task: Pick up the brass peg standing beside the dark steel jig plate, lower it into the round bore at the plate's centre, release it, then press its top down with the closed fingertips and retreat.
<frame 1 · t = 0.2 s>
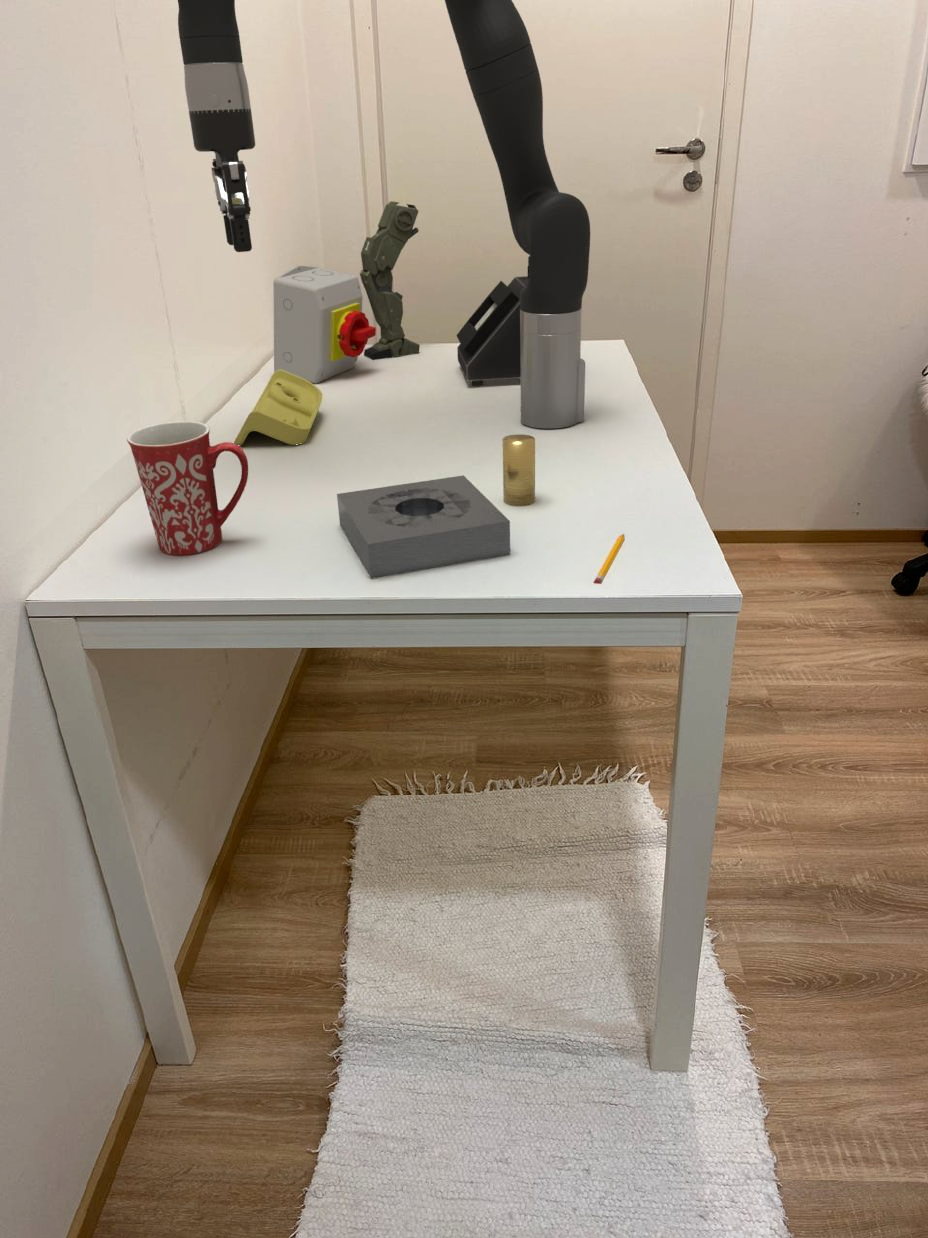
hand: (239, 247, 123), 29 cm above the table, tool pointing down, fingers open, 8 cm apart
mechanical leg: (395, 354, 195), on the table
plastic component: (285, 431, 150), on the table
jig: (421, 538, 109), on the table
electrical switch box: (331, 375, 180), on the table
brass peg: (519, 500, 119), on the table
mug: (205, 544, 110), on the table
pencil: (611, 561, 103), on the table
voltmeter: (504, 376, 176), on the table
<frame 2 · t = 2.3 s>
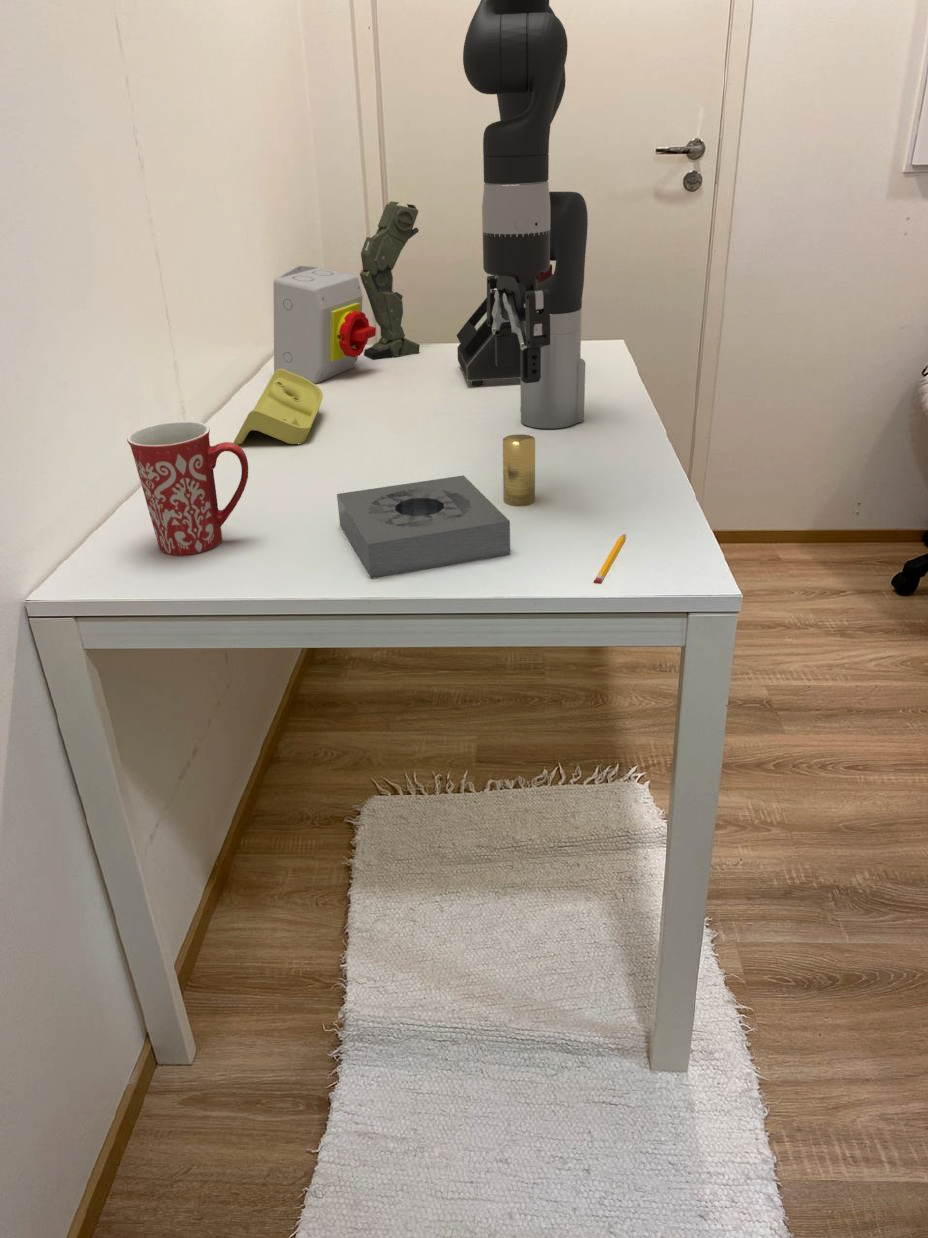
hand: (517, 373, 111), 16 cm above the table, tool pointing down, fingers open, 8 cm apart
nothing on the table moved.
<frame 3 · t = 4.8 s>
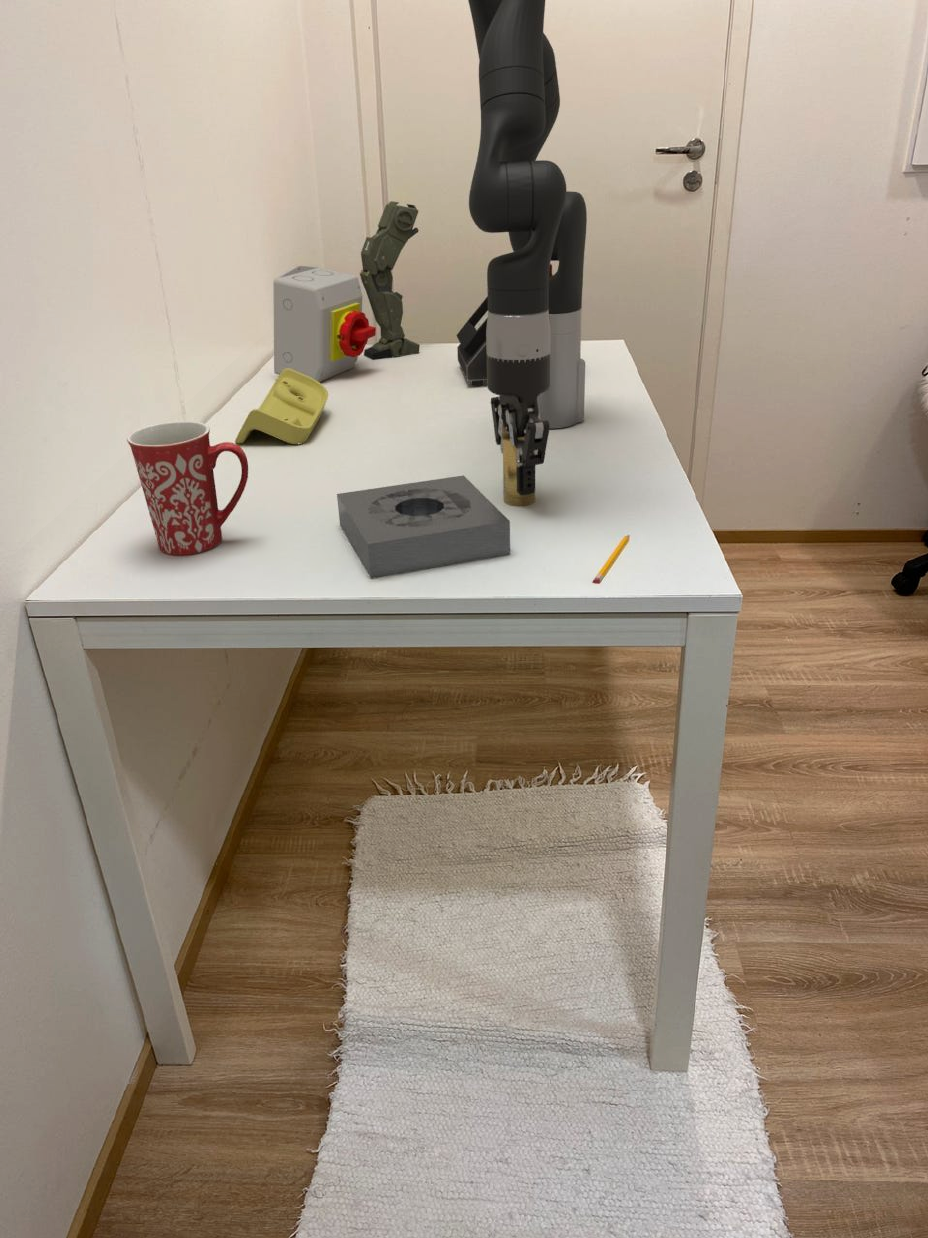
hand: (519, 486, 118), 2 cm above the table, tool pointing down, fingers closed on brass peg, 4 cm apart
brass peg: (519, 500, 119), on the table, touching gripper
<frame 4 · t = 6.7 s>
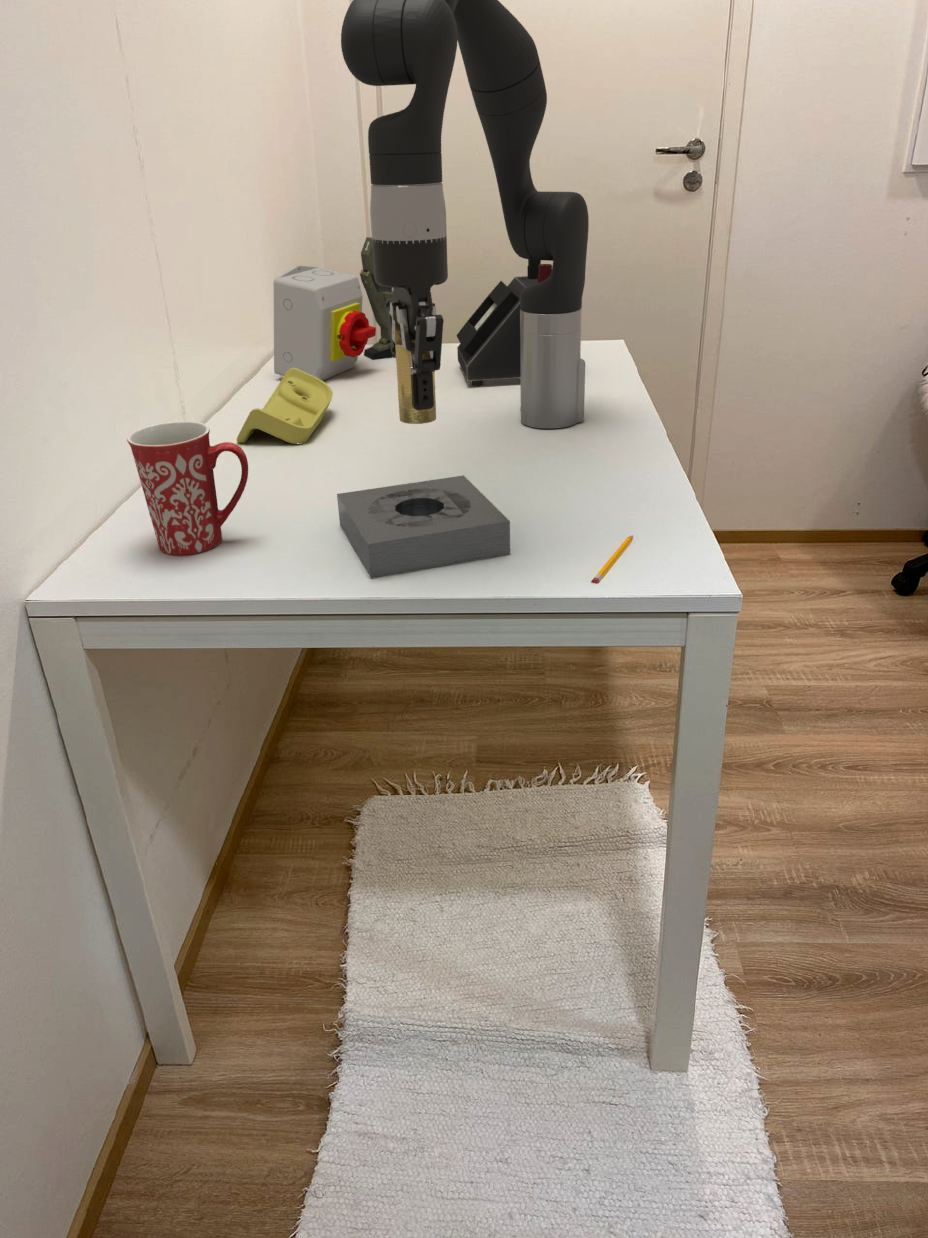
hand: (417, 402, 102), 16 cm above the table, tool pointing down, fingers closed on brass peg, 4 cm apart
brass peg: (417, 418, 102), point 14 cm above the table, touching gripper
when the fingers open (4 cm above the table, at t = 8.6 s): brass peg drops 3 cm, resting in jig.
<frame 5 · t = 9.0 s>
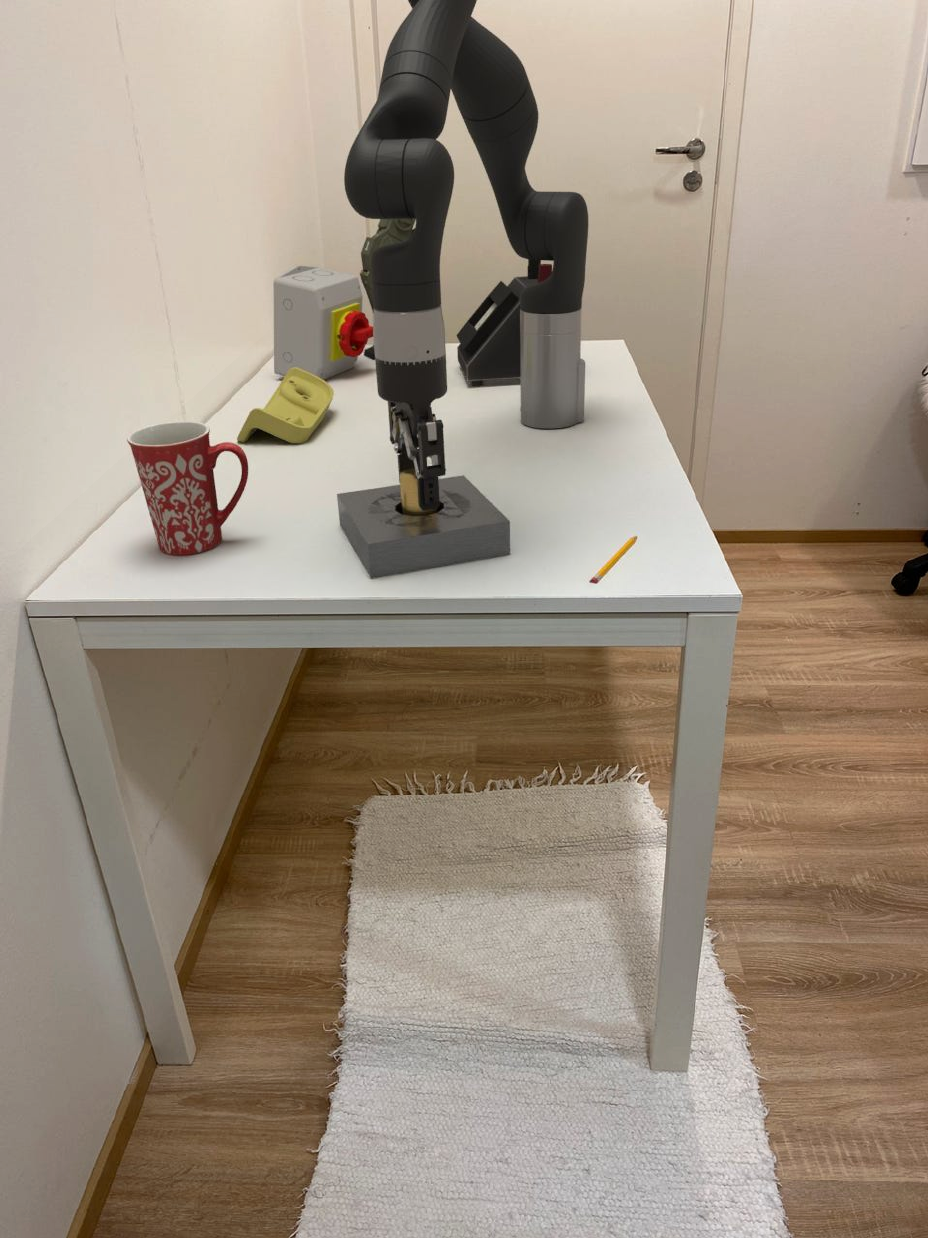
hand: (418, 496, 107), 5 cm above the table, tool pointing down, fingers open, 8 cm apart
brass peg: (421, 538, 109), resting in jig
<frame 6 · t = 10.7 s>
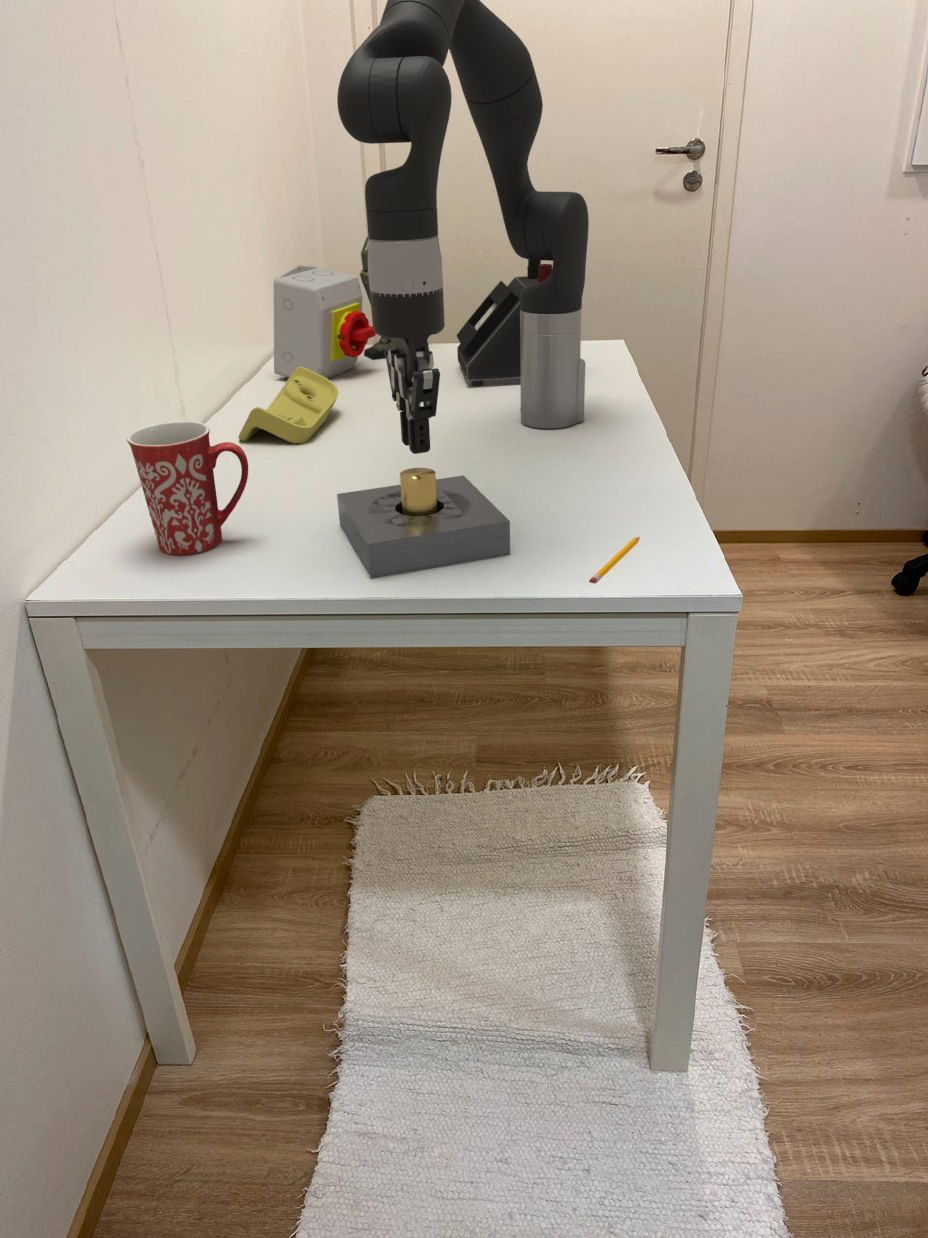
hand: (416, 447, 104), 11 cm above the table, tool pointing down, fingers open, 2 cm apart
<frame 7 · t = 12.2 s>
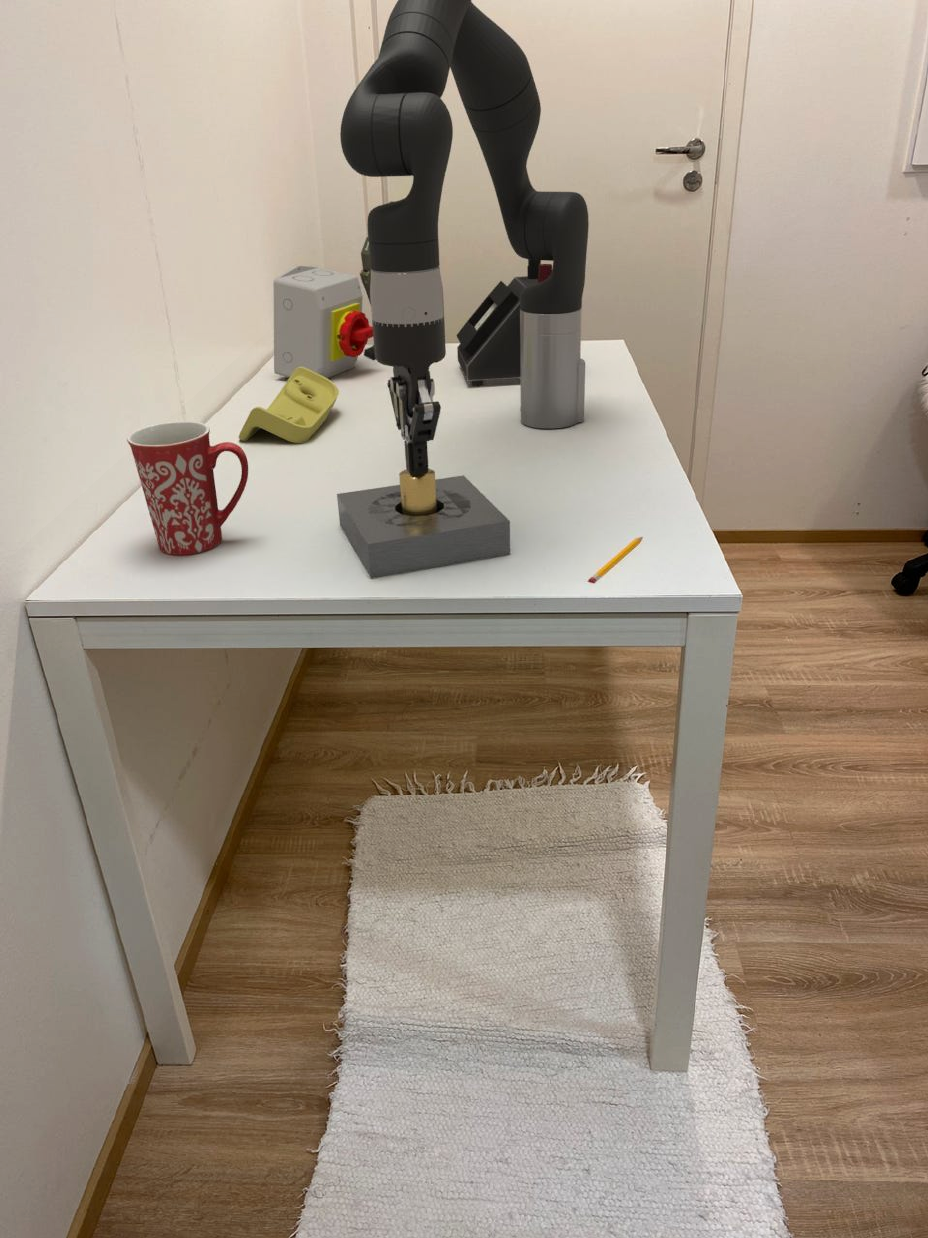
hand: (417, 472, 105), 8 cm above the table, tool pointing down, fingers closed
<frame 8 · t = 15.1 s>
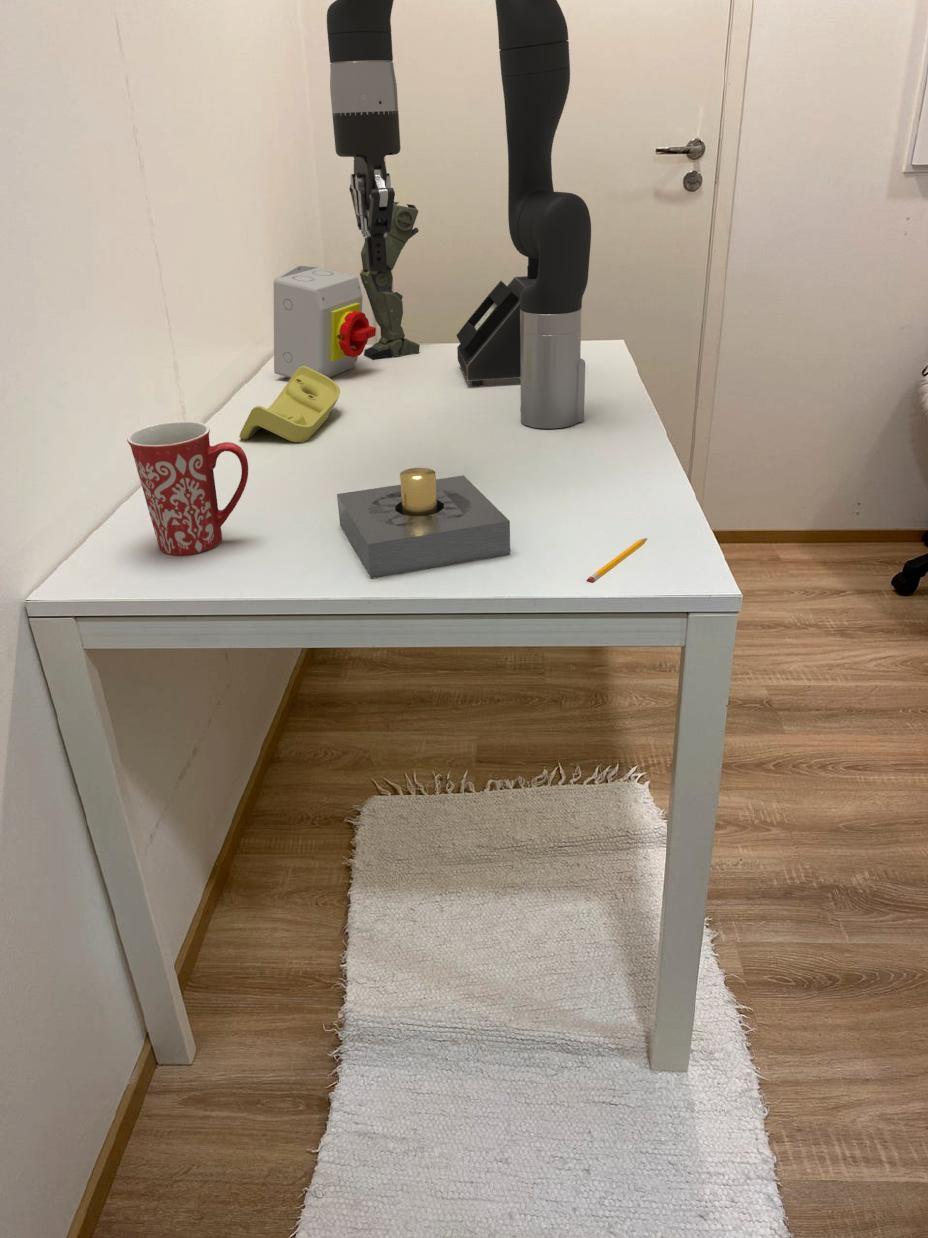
hand: (377, 269, 114), 27 cm above the table, tool pointing down, fingers closed
at the end: brass peg 0.1 cm off-centre on the jig, point 0.0 cm above the jig's base; brass peg tilted 1°; the gripper is holding nothing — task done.
